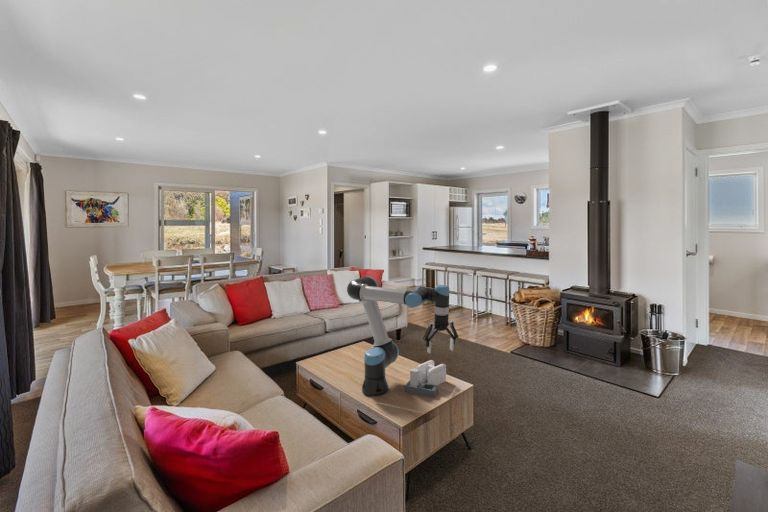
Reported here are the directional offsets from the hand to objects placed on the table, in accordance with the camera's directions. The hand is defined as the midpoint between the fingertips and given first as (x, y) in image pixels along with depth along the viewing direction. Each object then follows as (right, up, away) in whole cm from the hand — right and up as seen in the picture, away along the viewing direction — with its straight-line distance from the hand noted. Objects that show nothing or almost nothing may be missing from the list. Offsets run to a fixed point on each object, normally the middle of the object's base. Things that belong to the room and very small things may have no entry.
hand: (440, 351), depth 203 cm
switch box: (-10, -24, +4) cm, 27 cm away
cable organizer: (-3, -23, +15) cm, 28 cm away
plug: (-14, -24, +6) cm, 28 cm away
